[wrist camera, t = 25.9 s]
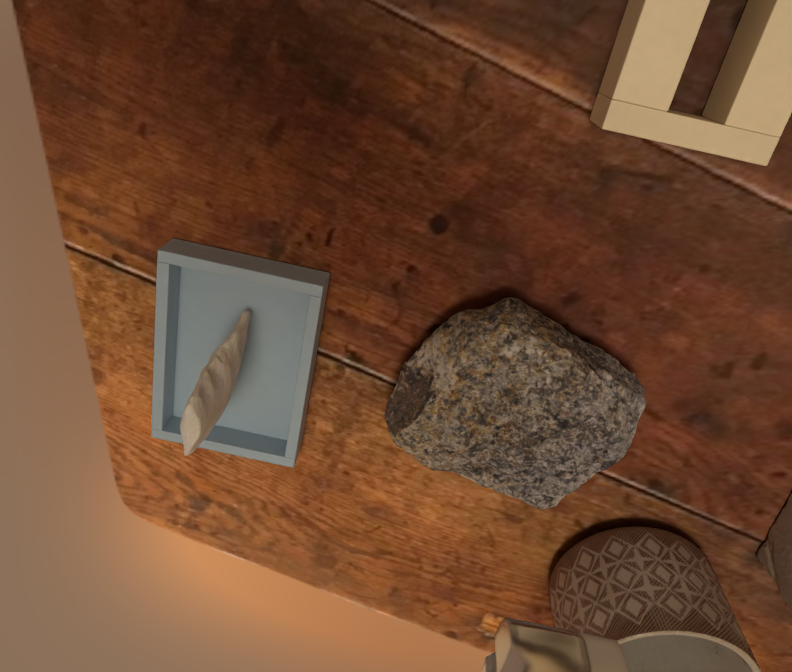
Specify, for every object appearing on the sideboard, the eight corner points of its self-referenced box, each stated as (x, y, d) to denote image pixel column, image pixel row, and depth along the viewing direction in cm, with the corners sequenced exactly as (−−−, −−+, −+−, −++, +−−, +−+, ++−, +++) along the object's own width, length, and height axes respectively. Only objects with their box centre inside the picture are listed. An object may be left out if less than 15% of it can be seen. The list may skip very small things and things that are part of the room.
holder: (588, 119, 37) (601, 128, 33) (670, -131, 31) (695, -148, 28) (740, 154, 37) (766, 166, 34) (847, -89, 31) (891, -102, 28)
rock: (654, 375, 44) (476, 254, 41) (685, 426, 38) (479, 287, 35) (537, 495, 48) (372, 392, 46) (549, 556, 42) (360, 442, 40)
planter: (605, 650, 56) (635, 776, 46) (515, 566, 52) (528, 684, 43) (739, 586, 51) (802, 711, 42) (649, 489, 48) (697, 602, 38)
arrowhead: (240, 405, 47) (190, 495, 38) (209, 395, 46) (151, 483, 38) (265, 309, 43) (216, 385, 34) (232, 298, 43) (173, 371, 34)
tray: (301, 447, 49) (293, 468, 46) (164, 418, 48) (150, 437, 46) (330, 272, 42) (323, 286, 40) (173, 237, 42) (157, 249, 40)
